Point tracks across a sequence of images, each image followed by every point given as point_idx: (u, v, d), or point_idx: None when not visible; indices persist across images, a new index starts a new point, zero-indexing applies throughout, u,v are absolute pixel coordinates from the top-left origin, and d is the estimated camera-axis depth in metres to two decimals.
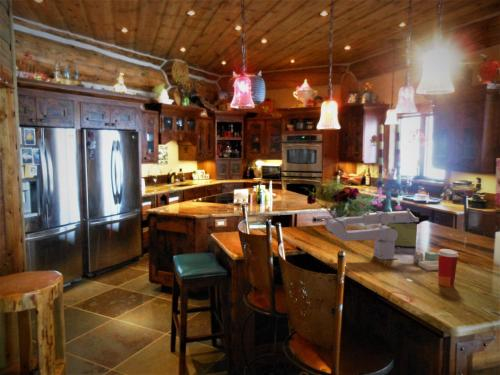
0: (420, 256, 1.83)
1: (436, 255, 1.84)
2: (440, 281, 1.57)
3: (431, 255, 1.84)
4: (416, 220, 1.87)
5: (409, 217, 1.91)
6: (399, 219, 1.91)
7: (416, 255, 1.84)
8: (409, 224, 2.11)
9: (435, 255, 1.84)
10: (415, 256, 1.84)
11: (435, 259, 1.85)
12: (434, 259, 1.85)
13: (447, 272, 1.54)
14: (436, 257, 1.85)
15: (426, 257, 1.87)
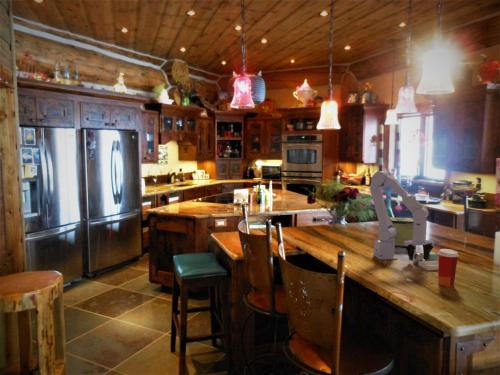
0: (420, 256, 1.83)
1: (436, 255, 1.84)
2: (440, 281, 1.57)
3: (431, 255, 1.84)
4: (404, 242, 1.84)
5: (413, 240, 1.84)
6: (416, 230, 1.82)
7: (416, 255, 1.84)
8: (409, 224, 2.11)
9: (435, 255, 1.84)
10: (415, 256, 1.84)
11: (435, 259, 1.85)
12: (434, 259, 1.85)
13: (447, 272, 1.54)
14: (436, 257, 1.85)
15: None
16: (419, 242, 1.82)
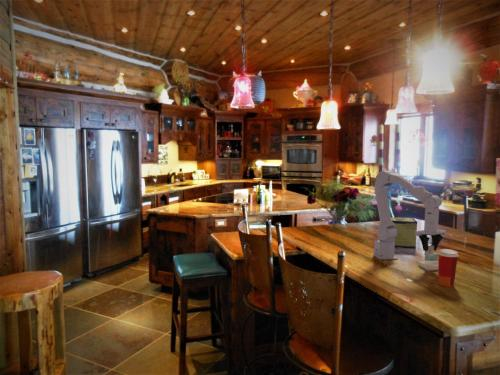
0: (432, 247, 1.76)
1: (436, 255, 1.84)
2: (440, 281, 1.57)
3: None
4: (415, 232, 1.76)
5: (425, 230, 1.76)
6: (427, 219, 1.75)
7: (428, 246, 1.76)
8: (409, 224, 2.11)
9: (435, 255, 1.84)
10: None
11: (435, 259, 1.85)
12: (434, 259, 1.85)
13: (447, 272, 1.54)
14: (436, 257, 1.85)
15: (426, 257, 1.87)
16: (431, 232, 1.74)
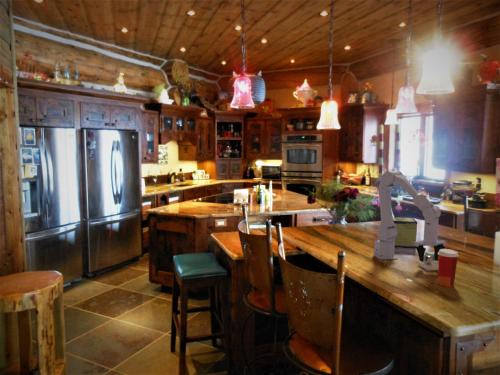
0: (431, 259, 1.77)
1: None
2: (440, 281, 1.57)
3: None
4: (415, 243, 1.77)
5: (424, 240, 1.77)
6: (426, 230, 1.76)
7: (427, 258, 1.77)
8: (409, 224, 2.11)
9: None
10: (426, 259, 1.78)
11: None
12: None
13: (447, 272, 1.54)
14: None
15: None
16: (430, 242, 1.75)
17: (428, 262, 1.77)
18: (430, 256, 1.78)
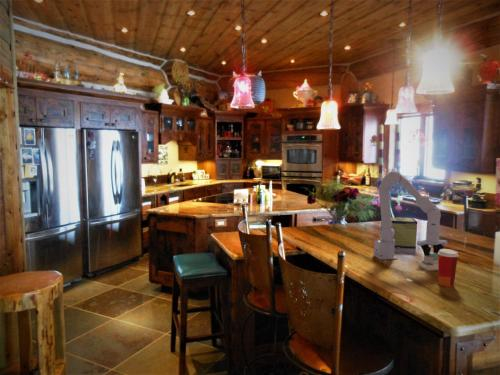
0: (431, 259, 1.77)
1: (436, 255, 1.84)
2: (440, 281, 1.57)
3: None
4: (418, 242, 1.85)
5: (427, 240, 1.85)
6: (431, 230, 1.83)
7: (427, 258, 1.77)
8: (409, 224, 2.11)
9: (435, 255, 1.84)
10: (426, 259, 1.78)
11: (435, 259, 1.85)
12: (434, 259, 1.85)
13: (447, 272, 1.54)
14: (436, 257, 1.85)
15: None
16: (432, 242, 1.83)
17: (428, 262, 1.77)
18: (430, 256, 1.78)
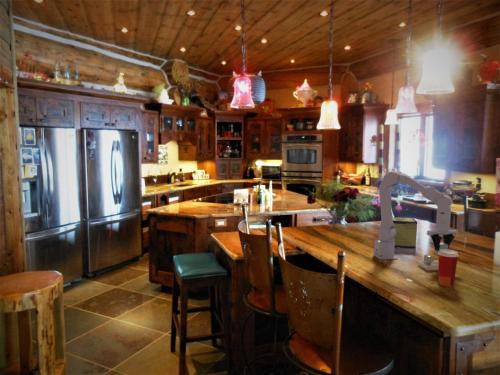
0: (431, 259, 1.77)
1: (446, 246, 1.77)
2: (440, 281, 1.57)
3: (441, 246, 1.77)
4: (427, 232, 1.77)
5: (437, 229, 1.77)
6: (440, 219, 1.76)
7: (427, 258, 1.77)
8: (409, 224, 2.11)
9: (445, 246, 1.77)
10: (426, 259, 1.78)
11: None
12: None
13: (447, 272, 1.54)
14: (446, 248, 1.77)
15: None
16: (443, 231, 1.75)
17: (428, 262, 1.77)
18: (430, 256, 1.78)
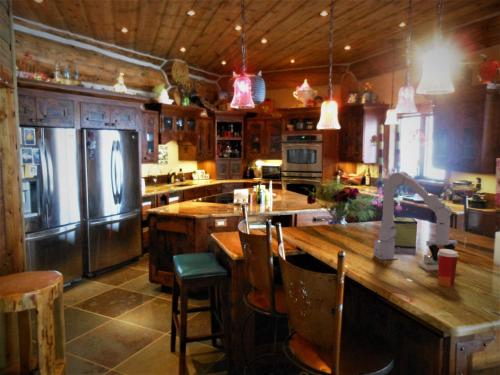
0: (431, 259, 1.77)
1: None
2: (440, 281, 1.57)
3: None
4: (427, 242, 1.78)
5: (436, 240, 1.78)
6: (439, 229, 1.76)
7: (427, 258, 1.77)
8: (409, 224, 2.11)
9: None
10: (426, 259, 1.78)
11: None
12: None
13: (447, 272, 1.54)
14: None
15: None
16: (442, 242, 1.76)
17: (428, 262, 1.77)
18: (430, 256, 1.78)
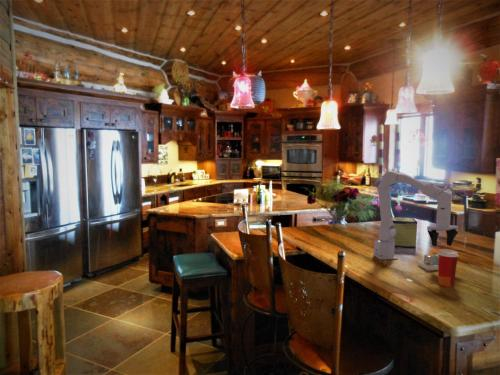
0: (431, 259, 1.77)
1: None
2: (440, 281, 1.57)
3: None
4: (428, 228, 1.77)
5: (437, 225, 1.77)
6: (440, 214, 1.75)
7: (427, 258, 1.77)
8: (409, 224, 2.11)
9: None
10: (426, 259, 1.78)
11: None
12: None
13: (447, 272, 1.54)
14: None
15: (435, 260, 1.80)
16: (443, 227, 1.75)
17: (428, 262, 1.77)
18: (430, 256, 1.78)
